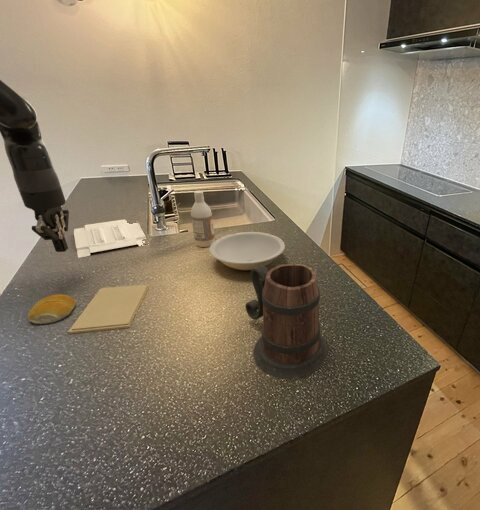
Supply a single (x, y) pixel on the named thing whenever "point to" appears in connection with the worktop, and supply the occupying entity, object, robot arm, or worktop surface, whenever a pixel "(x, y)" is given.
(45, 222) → the robot arm
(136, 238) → the tray
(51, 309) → the bread roll
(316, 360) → the tankard
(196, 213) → the bath foam
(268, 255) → the soup bowl
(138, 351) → the worktop surface
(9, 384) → the worktop surface
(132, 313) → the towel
